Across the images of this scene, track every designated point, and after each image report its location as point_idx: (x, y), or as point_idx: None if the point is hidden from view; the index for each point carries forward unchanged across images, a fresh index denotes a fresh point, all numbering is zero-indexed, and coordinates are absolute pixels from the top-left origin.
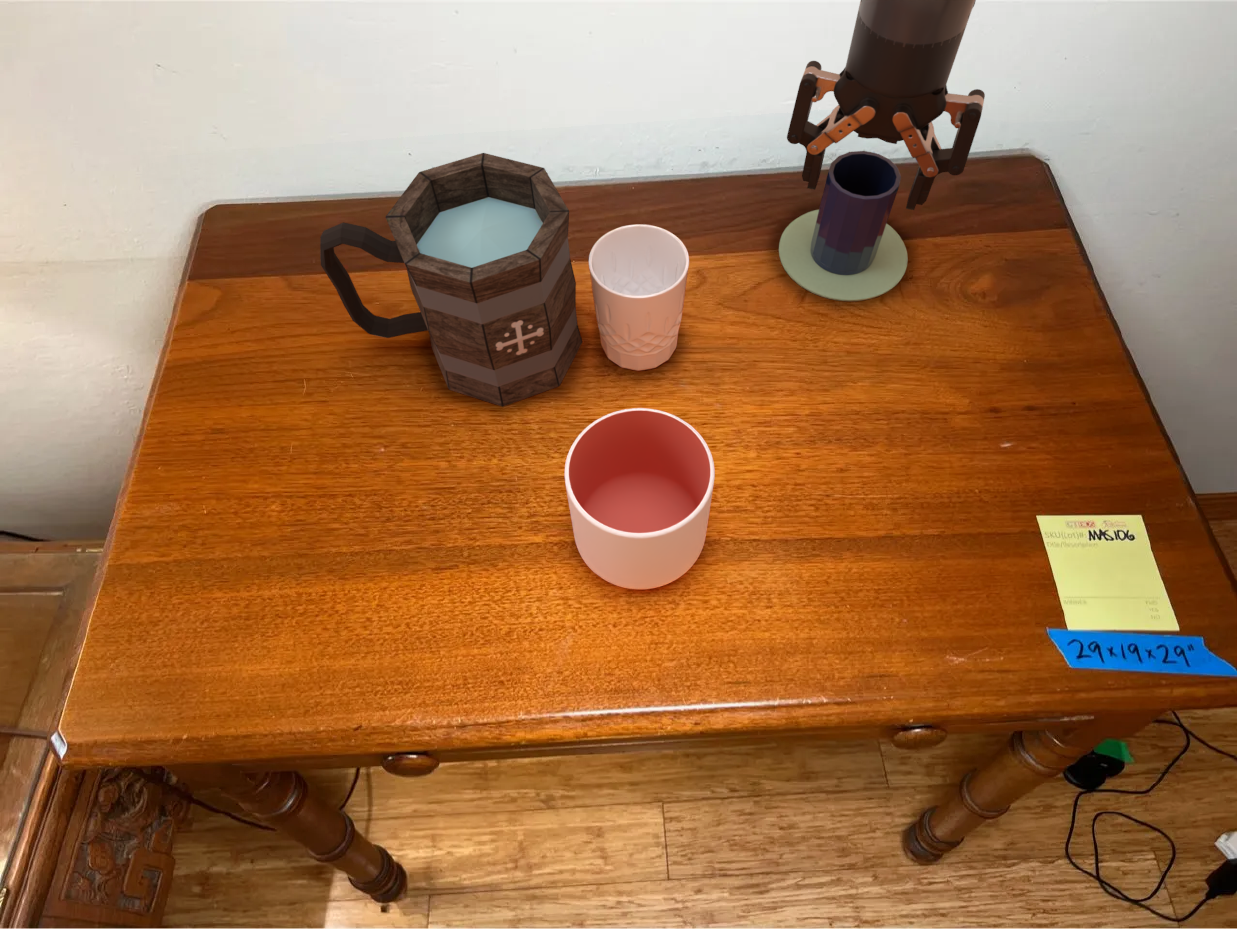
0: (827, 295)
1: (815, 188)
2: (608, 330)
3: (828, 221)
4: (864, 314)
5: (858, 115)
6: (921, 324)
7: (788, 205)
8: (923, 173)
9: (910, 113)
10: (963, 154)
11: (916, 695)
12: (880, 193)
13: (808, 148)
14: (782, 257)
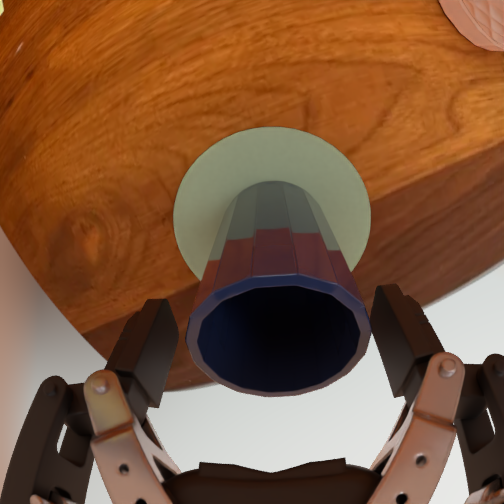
0: (269, 129)
1: (376, 289)
2: None
3: (322, 230)
4: (199, 119)
5: None
6: (120, 143)
7: (366, 286)
8: (116, 377)
9: None
10: (31, 423)
11: None
12: (238, 326)
13: (458, 361)
14: (361, 186)
